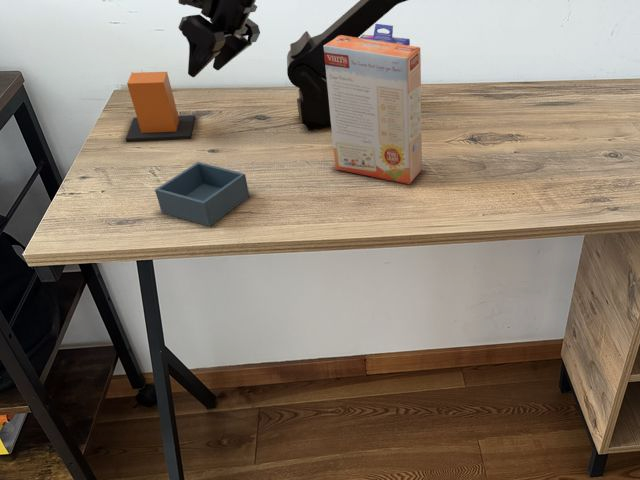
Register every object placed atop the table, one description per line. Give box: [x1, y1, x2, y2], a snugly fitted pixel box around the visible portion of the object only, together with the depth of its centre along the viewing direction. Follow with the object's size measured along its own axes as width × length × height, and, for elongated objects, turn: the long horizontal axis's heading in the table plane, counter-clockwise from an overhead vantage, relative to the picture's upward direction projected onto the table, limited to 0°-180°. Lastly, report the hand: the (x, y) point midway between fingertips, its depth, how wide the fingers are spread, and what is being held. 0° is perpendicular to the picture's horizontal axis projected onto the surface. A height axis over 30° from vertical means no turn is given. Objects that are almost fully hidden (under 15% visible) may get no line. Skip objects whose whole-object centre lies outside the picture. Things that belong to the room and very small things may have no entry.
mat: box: [125, 114, 196, 143], centre depth 126 cm, size 11×9×1 cm
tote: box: [154, 161, 250, 227], centre depth 106 cm, size 10×9×4 cm
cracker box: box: [324, 35, 423, 185], centre depth 111 cm, size 14×6×21 cm, turn 71°
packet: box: [126, 71, 179, 133], centre depth 123 cm, size 6×5×9 cm
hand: (203, 72), depth 121 cm, fingers open, 9 cm apart
